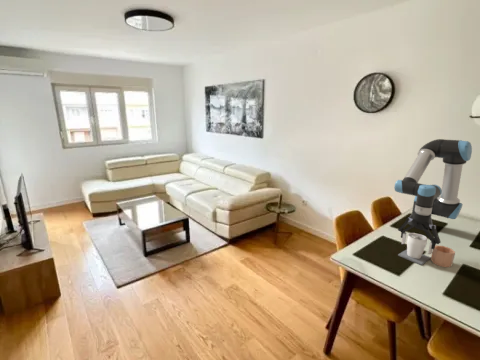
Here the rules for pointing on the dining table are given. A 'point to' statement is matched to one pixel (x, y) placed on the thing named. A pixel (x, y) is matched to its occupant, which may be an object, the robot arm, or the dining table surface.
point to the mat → (418, 261)
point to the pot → (442, 256)
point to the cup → (416, 245)
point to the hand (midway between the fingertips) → (415, 248)
